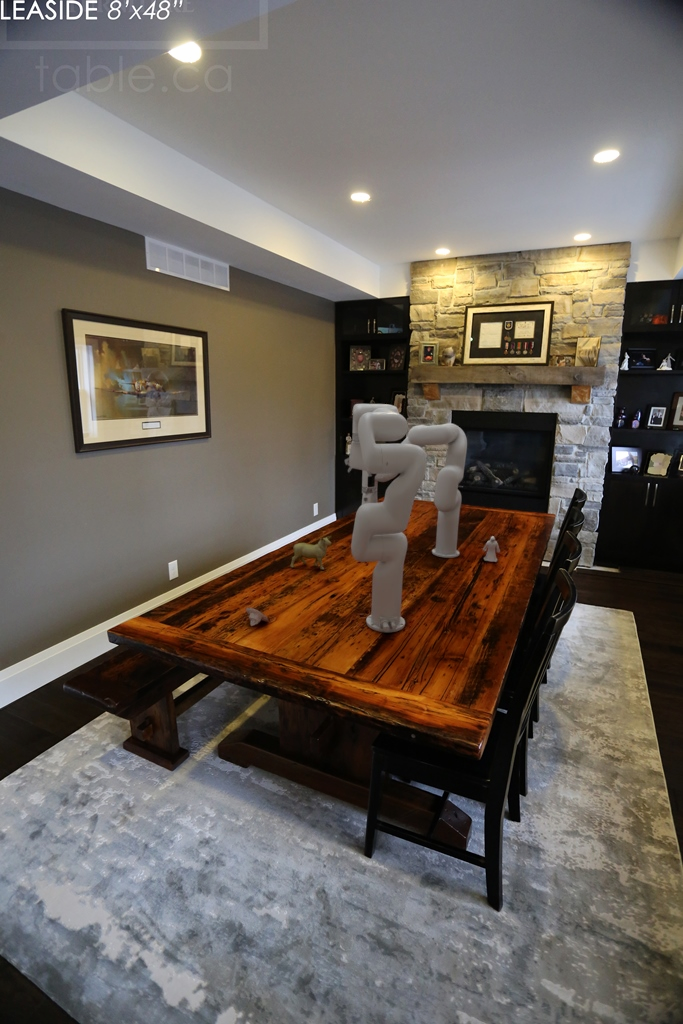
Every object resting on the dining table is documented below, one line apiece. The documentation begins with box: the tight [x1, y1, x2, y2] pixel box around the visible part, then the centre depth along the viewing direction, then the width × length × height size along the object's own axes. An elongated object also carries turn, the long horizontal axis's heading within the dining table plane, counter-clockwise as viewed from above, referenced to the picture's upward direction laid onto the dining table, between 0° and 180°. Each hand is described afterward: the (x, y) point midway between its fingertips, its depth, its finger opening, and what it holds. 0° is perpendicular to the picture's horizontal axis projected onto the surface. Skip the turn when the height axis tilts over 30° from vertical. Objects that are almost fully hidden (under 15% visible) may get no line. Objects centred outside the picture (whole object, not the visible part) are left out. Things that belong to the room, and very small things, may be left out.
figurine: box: [482, 535, 501, 563], centre depth 223 cm, size 8×8×12 cm
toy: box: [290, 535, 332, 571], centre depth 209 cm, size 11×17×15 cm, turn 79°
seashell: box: [245, 607, 269, 627], centre depth 160 cm, size 8×5×8 cm
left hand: (361, 484), depth 186 cm, fingers open, 9 cm apart
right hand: (368, 525), depth 247 cm, fingers closed on tin, 5 cm apart
